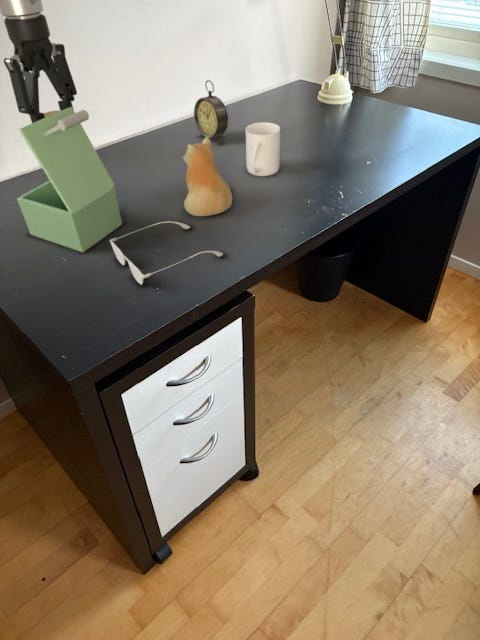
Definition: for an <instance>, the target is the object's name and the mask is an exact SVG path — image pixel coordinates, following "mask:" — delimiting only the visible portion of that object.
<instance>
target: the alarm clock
mask: <svg viewBox="0 0 480 640" xmlns="http://www.w3.org/2000/svg"><path fill="white" fill-rule="evenodd" d="M208 82H209V83H210V84H211V86H212V91H211V90H209V89H208V87H207V83H208ZM204 86H205V89H206V91H207V93H208V95H207V96H203V97H200V98H199V99H197V100H196V102H195V105H194V108H193V109H194V110H193V116H194V122H195V126H196V127H197V129H198V131H199V133H200V134H201V135H200V137H201V138H202V137H205V138H206V137H208V138H209V139H210V140H211V139H214V138H216V139H217V141H218V143H219V145H222V141H221V136H222V135H224V134H225V133H226V131H227V129H228V125H229V115H228V110H227V107H226V105H225V103H224V102H223V100H222V99H220V97H218V96H217V95H212V94H213V93H214V91H215V86H214V83H213V82H212V81H211V80H208V79H207V80H206V81H205V84H204Z"/></svg>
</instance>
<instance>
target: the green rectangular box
mask: <svg viewBox="0 0 480 640" xmlns="http://www.w3.org/2000/svg"><path fill="white" fill-rule="evenodd" d="M16 200H17V203H18V205H19V208H20V211H21V213H22V216H23V218H24V221H25V223H26V226H27V229H28V232H29V234H30V236H33V237H35V238H40V239H42V240H45V241H48V242H50V243H54V244H57V245H60V246H63V247H66V248H68V249H71V250H75V251H78V252H81V253H84V252H86V251H87V250H89V249H90V248H91V247H93V246H94V245H96V244H97V243H98V242H100V241H101V240H103V239H104V238H106V237H107V236H108V235H110V234H111V233H112V232H114V231H116V230H117V229H118V228H119V227H120V226H122V225H123V220H122V217H121V213H120V208H119V203H118V198H117V196H116V190H115V187H112V188H110V189H108V190H107V191H105V192H104V193H102V194H100V195H99V196H97V197H96V198H94V199H93V200H91V201H89V202H88V203H86V204H85V205H83V206H82V207H80V208H78V209H77V210H75V211H74V212H72V213H70V212H69V211H68V209H67V208H66V206H65V204H64V203H63V201H62V199H61V198H60V196H59V195H58V193H57V191H56V190H55V188H54V186H53V185H52V183H51V181H50V180H49V179H48V181H45V182H44V183H42V184H40V185H38V186H37V187H35V188H32V189H31V190H29V191H27V192H26V193H23V194H22V195H20V196H19V197H17V198H16Z"/></svg>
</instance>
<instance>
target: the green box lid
mask: <svg viewBox="0 0 480 640" xmlns="http://www.w3.org/2000/svg"><path fill="white" fill-rule="evenodd" d="M73 110H74V108H73V109H72V107H69V108H66V109H64V110H62V111H60V112H57V113H55V114H53V115H50V116H48V117H46V118H43V119H41V120H39V121H37V122H34V123H32V122H31V123H30V124H27V125H25V126H23V127H21V128H19V129H18V131H19V133H20V135H21V136H22V137H23V139H24V141H25V143H26V144H27V146H28V147H29V149H30V151H31V152H32V154H33V155H34V157H35V159H36V160H37V162H38V164H39V166H40V167H41V169H42V170H43V172H44V173H45V175H46V176H47V178H48V181H49V180H50V181H51V183H52V185H53V186H54V188H55V190H56V191H57V193H58V195H59V196H60V198H61V199H62V201H63V203H64V204H65V206H66V208H67V209H68V211H69V212H70V213H72V212H74V211H75V210H77V209H78V208H80V207H82V206H83V205H85V204H86V203H88V202H89V201H91V200H93V199H94V198H96V197H97V196H99V195H100V194H102V193H104V192H105V191H107V190H108V189H110V188H114V187H115V184H114V182H113V180H112V178H111V176H110V174H109V172H108V171H107V169H106V167H105V165H104V163H103V162H102V161H103V160H101V158H100V156H99V154H98V152H97V151H96V149H95V147H94V145H93V143H92V141H91V140H90V138H89V136H88V134H87V132H86V131H85V129H84V127H83V125H82V123H83V122H86V121H88V120H89V119H90V115H89V113H88V111H87V110H85V109H81V110H79V111H77V112H76V111H75V110H74V111H73Z"/></svg>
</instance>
